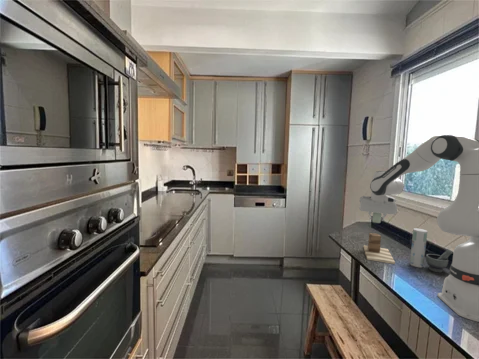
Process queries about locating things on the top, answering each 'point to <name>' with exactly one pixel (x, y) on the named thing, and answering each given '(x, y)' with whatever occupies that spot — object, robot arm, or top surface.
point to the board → (379, 255)
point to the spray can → (418, 247)
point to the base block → (373, 247)
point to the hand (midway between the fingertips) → (376, 219)
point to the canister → (376, 217)
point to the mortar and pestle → (438, 261)
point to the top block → (374, 238)
